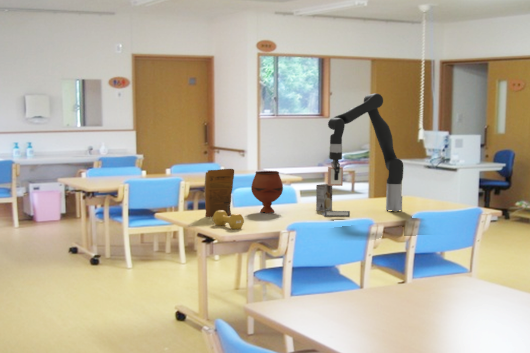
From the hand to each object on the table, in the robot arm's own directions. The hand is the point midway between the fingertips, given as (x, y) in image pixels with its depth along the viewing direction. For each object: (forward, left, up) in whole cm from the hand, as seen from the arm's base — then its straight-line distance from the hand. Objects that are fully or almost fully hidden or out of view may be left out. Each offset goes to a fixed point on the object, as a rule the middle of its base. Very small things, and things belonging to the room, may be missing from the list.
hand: (335, 179), depth 444 cm
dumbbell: (+67, +42, -22) cm, 82 cm away
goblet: (+40, -10, -21) cm, 47 cm away
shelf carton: (0, 0, -4) cm, 4 cm away
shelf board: (0, +2, -21) cm, 21 cm away
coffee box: (+3, -18, -21) cm, 28 cm away
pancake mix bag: (+70, +5, -21) cm, 73 cm away
